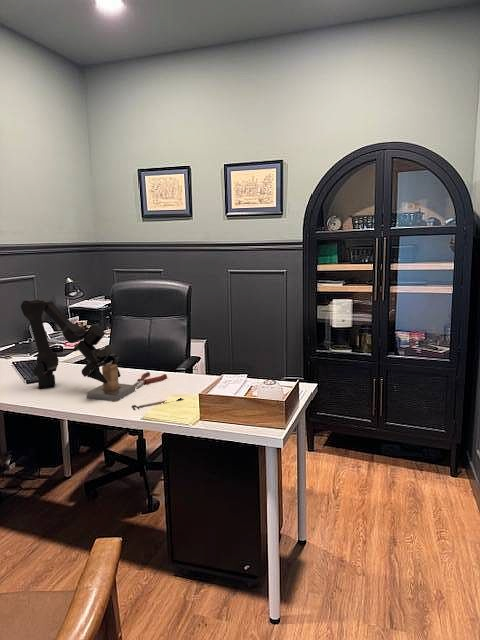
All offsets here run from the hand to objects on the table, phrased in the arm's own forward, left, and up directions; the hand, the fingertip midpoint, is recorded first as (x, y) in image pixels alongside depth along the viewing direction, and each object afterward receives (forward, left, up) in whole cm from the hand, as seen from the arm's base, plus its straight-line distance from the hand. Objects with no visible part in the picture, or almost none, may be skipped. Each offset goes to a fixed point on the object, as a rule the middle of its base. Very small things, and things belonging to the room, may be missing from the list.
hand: (113, 379), depth 190 cm
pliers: (+15, +13, -7) cm, 21 cm away
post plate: (-1, +1, -7) cm, 7 cm away
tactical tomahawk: (+14, -20, -7) cm, 26 cm away
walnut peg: (-1, +1, -7) cm, 7 cm away
